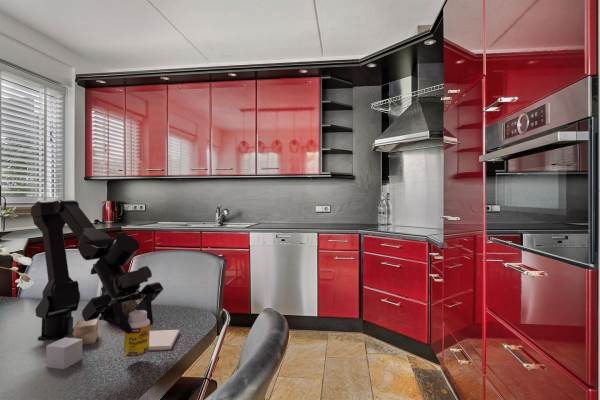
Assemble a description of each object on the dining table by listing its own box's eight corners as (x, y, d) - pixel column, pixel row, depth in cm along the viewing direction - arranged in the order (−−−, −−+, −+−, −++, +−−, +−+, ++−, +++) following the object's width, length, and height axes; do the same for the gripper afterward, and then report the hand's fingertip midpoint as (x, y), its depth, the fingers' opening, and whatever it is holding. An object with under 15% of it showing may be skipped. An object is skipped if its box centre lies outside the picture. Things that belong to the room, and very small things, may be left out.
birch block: (73, 346, 88) (73, 327, 88) (76, 338, 92) (77, 321, 92) (94, 343, 90) (95, 324, 90) (97, 336, 94) (98, 318, 94)
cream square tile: (126, 351, 85) (126, 347, 85) (140, 334, 96) (140, 331, 96) (170, 349, 87) (170, 345, 87) (179, 333, 98) (179, 329, 98)
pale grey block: (45, 367, 76) (46, 345, 76) (64, 357, 81) (65, 337, 81) (63, 369, 75) (64, 348, 76) (81, 359, 80) (82, 339, 80)
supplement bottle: (124, 362, 75) (126, 318, 76) (122, 352, 80) (123, 311, 80) (150, 356, 79) (152, 314, 79) (147, 347, 83) (148, 307, 83)
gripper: (91, 262, 73) (122, 321, 68) (160, 252, 90) (188, 299, 85) (69, 292, 76) (97, 350, 71) (139, 277, 93) (165, 323, 88)
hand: (141, 328), depth 79 cm, fingers closed on supplement bottle, 5 cm apart
